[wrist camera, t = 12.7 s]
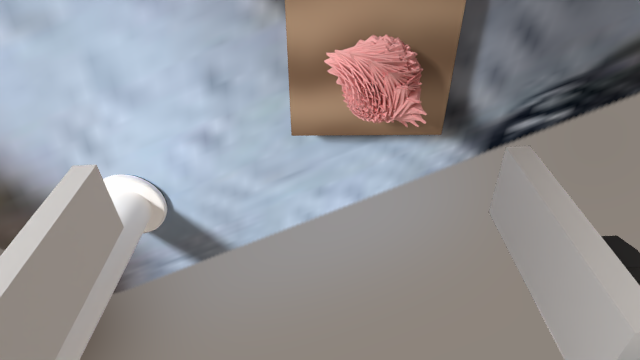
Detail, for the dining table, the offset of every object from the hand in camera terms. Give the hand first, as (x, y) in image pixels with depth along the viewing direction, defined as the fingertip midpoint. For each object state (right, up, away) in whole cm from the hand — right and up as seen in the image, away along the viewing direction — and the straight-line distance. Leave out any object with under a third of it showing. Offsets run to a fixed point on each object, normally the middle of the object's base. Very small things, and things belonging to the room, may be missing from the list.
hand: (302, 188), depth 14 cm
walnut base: (+4, +11, +19) cm, 23 cm away
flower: (+5, +8, +17) cm, 19 cm away
